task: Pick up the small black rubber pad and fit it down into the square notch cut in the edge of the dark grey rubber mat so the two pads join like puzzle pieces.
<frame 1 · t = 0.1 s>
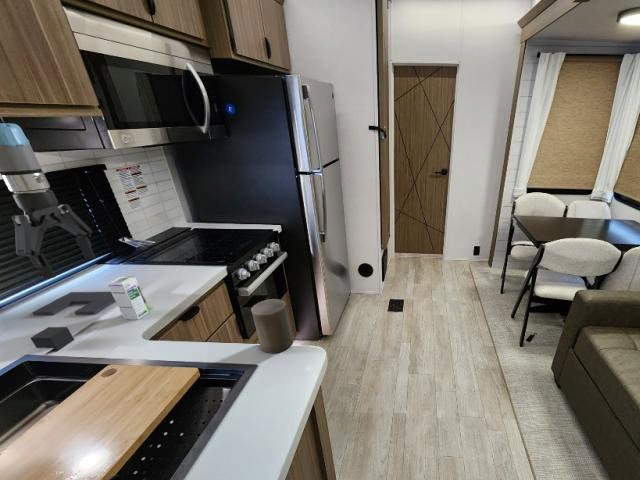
hand: (71, 267, 95), 25 cm above the worktop, tool pointing down, fingers open, 13 cm apart
syrup box: (137, 316, 120), on the worktop
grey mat: (84, 307, 126), on the worktop
black pad: (57, 345, 104), on the worktop
pillar candle: (277, 344, 104), on the worktop
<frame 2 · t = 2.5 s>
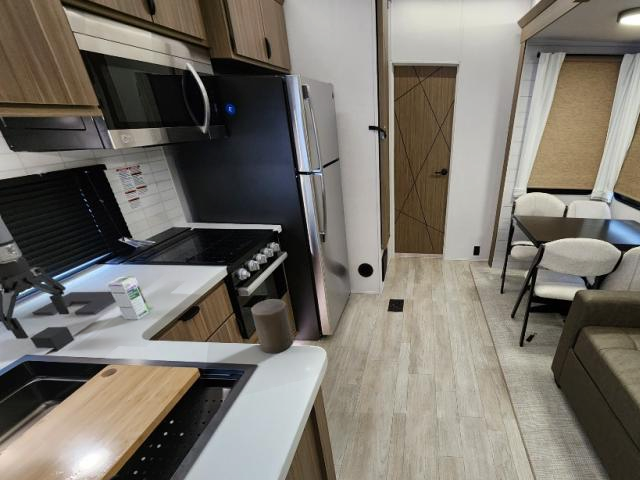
hand: (45, 325, 101), 8 cm above the worktop, tool pointing down, fingers open, 13 cm apart
nothing on the worktop moved.
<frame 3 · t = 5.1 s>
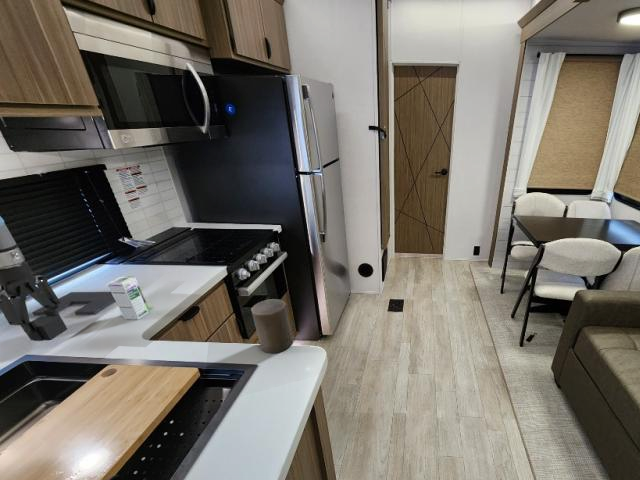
hand: (49, 333, 102), 4 cm above the worktop, tool pointing down, fingers closed on black pad, 6 cm apart
black pad: (49, 334, 103), point 4 cm above the worktop, touching gripper
everything else where it was.
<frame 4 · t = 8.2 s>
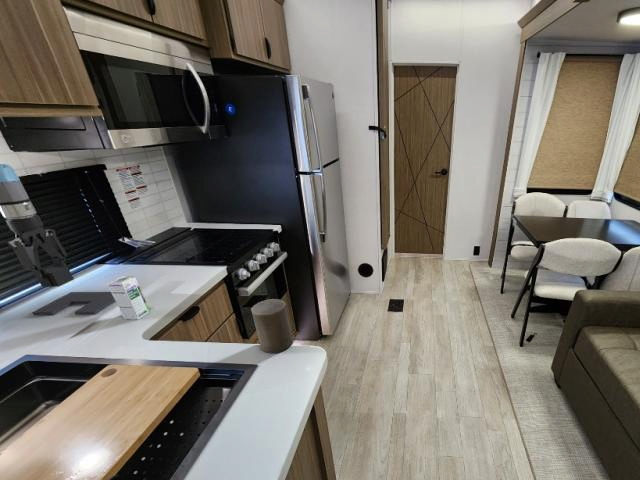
hand: (58, 282, 116), 13 cm above the worktop, tool pointing down, fingers closed on black pad, 6 cm apart
black pad: (58, 282, 116), point 12 cm above the worktop, touching gripper
everything else where it was.
when the fingers open (0 cm above the worktop, at t = 11.5 s): black pad stays where it is, on the worktop.
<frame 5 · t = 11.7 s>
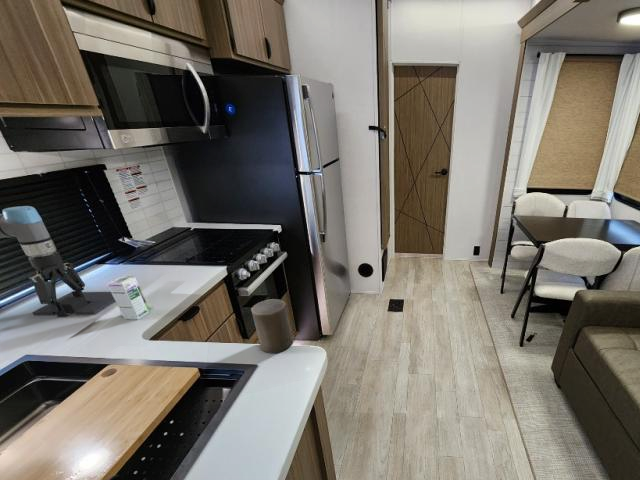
hand: (74, 312, 122), 0 cm above the worktop, tool pointing down, fingers open, 8 cm apart
black pad: (76, 312, 123), on the worktop
everything else where it was.
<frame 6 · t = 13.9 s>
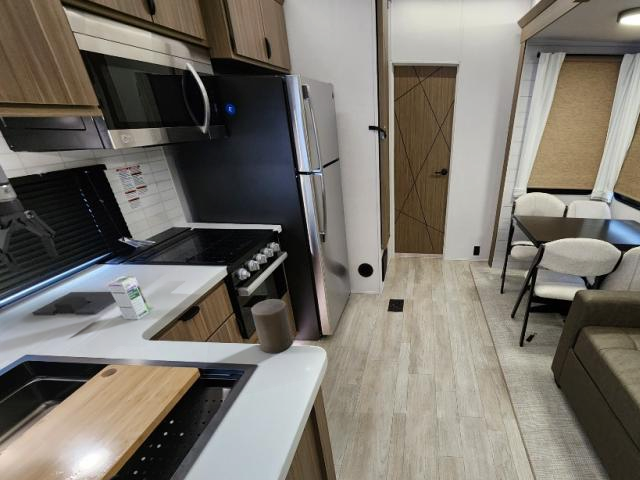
hand: (36, 263, 113), 20 cm above the worktop, tool pointing down, fingers open, 13 cm apart
nothing on the worktop moved.
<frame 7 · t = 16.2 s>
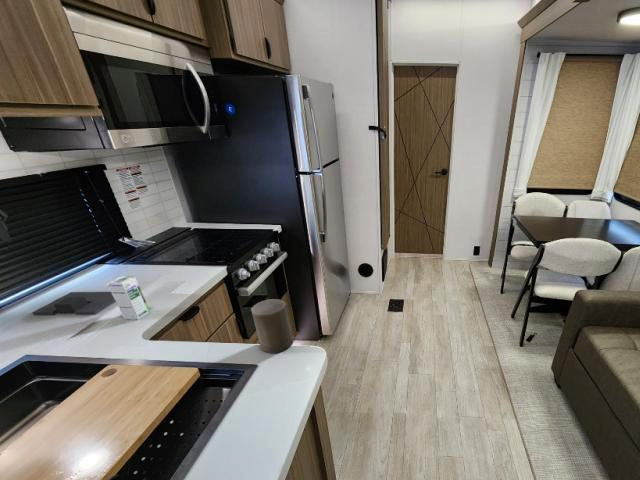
nothing on the worktop moved.
at the end: black pad 0.1 cm from the target spot on the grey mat, point 0.0 cm above the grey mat's base; black pad tilted 0°; the gripper is holding nothing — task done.
